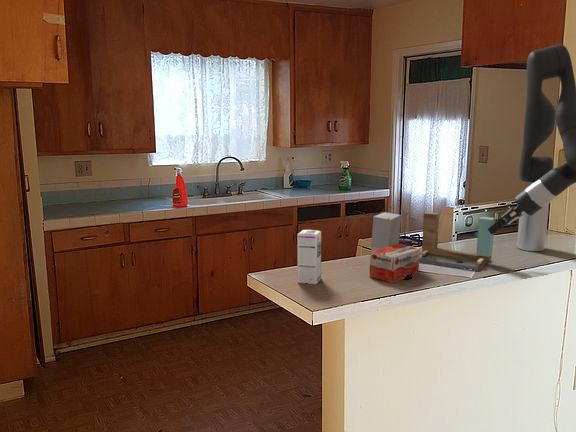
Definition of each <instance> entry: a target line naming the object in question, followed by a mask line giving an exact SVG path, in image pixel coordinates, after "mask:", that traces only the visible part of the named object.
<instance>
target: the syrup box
mask: <svg viewBox="0 0 576 432" xmlns="http://www.w3.org/2000/svg"><path fill="white" fill-rule="evenodd" d="M296 236H297V237H296V238H297V249H296V251H297V258H296V259H297V260H296V261H297V283H299V284H305V283H308V285H317V284H318V283H319V282H320V280H321V279H322V230H318V229H302V230H301V231H300V232H298V233H297V235H296Z"/></svg>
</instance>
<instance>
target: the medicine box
mask: <svg viewBox="0 0 576 432" xmlns="http://www.w3.org/2000/svg"><path fill="white" fill-rule="evenodd" d="M420 252H421V248H420V247H415V246H410V245H405V244H400V243H399V244H395V245H392V246H389V247H385V248H382V249H379V250H376V251H372V252H371V251H370V257H369V258H370V259H369V278H371V279H375V280H382V281H384V282H388V283H389V284H390V283H391V284H393V283H397V282H398V281H399V282H400V281H401V280H403V279H405V278H404V277H406V276H407V275H408V274H412V276H414V275H418V274H419V269H420V262H419V259H420Z"/></svg>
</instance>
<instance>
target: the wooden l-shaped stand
mask: <svg viewBox="0 0 576 432" xmlns="http://www.w3.org/2000/svg"><path fill="white" fill-rule="evenodd" d="M439 224H440V213H439V212H432V211H426V212H424V213H423V224H422V242H421V243H422V244H421V249H422V251H421V252H422V253H421V255H422V256H424V255H426V254H428V253H430V254H437V255H444V256H451V257H458V258H464V259H471V260H479V259H480V258H484V261H485V262H487V263H490V262H491V261H492V258H493V257H492V255H491V256H490V257H486V256H479V255H476V252H469V251H462V250H454V249H448V248H439V247H438V243H439V242H438V239H439Z"/></svg>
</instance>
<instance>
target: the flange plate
mask: <svg viewBox="0 0 576 432" xmlns="http://www.w3.org/2000/svg"><path fill="white" fill-rule="evenodd" d="M421 253H422V251H420V259H419V263H422V264H428V263H429V264H430V265H435V266H441V265H442V266H443V267H447V266H451V267H450V268H454V267H457V268H456V269H460V268H465V269H464V270H466V269H472V270H471V271H473V270H475V272H478V271H479V270H480V269H481V268H483V266H485V265H486V264H487V263H488V262H485V261H483V262H482V263H481V264H477V261H478V260H471V259H464V258H458V257H451V256H444V255H437V254H430V253H428V254H426V255H424V256H422V255H421ZM485 263H486V264H485ZM484 264H485V265H484Z"/></svg>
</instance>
